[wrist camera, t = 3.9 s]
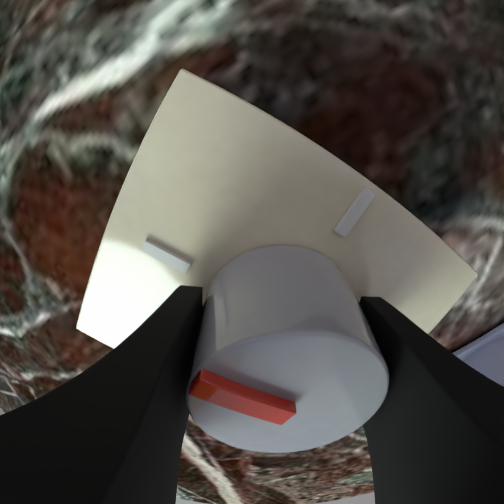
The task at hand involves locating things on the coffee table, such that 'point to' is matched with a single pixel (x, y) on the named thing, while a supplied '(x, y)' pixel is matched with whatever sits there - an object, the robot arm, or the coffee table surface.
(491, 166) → the coffee table surface
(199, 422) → the program dial
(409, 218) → the dial panel
